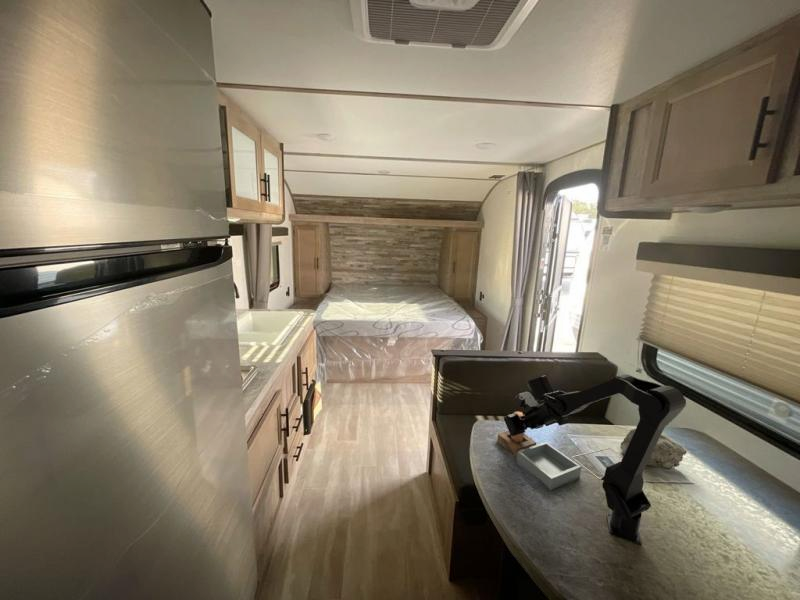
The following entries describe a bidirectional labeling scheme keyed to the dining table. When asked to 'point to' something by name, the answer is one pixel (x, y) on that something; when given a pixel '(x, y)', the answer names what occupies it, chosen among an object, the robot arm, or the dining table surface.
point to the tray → (548, 465)
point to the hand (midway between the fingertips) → (515, 426)
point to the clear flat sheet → (591, 452)
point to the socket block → (511, 445)
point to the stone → (660, 451)
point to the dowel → (519, 438)
